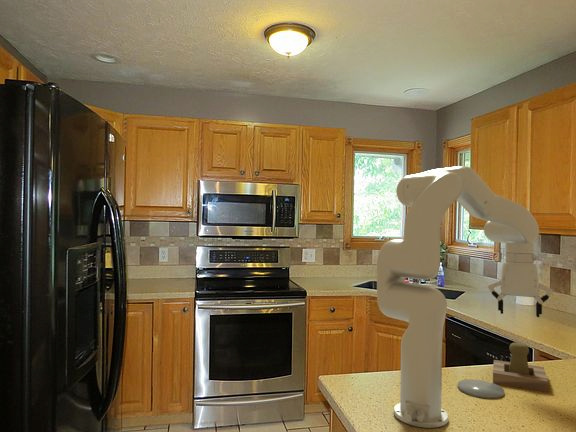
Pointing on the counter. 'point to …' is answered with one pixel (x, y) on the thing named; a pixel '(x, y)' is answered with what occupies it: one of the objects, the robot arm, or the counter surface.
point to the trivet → (480, 389)
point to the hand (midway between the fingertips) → (519, 314)
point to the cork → (519, 358)
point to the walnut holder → (520, 377)
